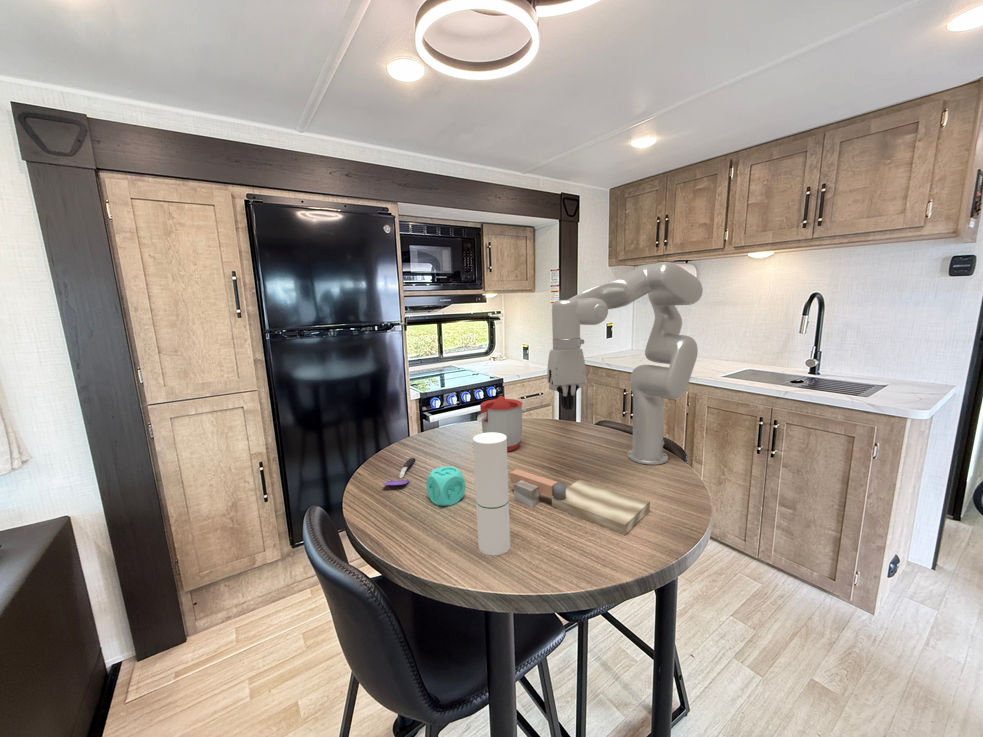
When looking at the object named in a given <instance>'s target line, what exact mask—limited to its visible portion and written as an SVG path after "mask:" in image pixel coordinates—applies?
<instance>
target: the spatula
mask: <svg viewBox="0 0 983 737" xmlns="http://www.w3.org/2000/svg"><path fill="white" fill-rule="evenodd" d="M415 459H416V458H415V457H410V458H408V459H407V461H405V463H404V464H403V465H402V469H401V470H400V473H399V476H398V478H399V477H400V478H402V477H404V478H405V473H406V471H407V469H409V468H410V467H411V466H413V464H414V463H415V462H416V460H415ZM406 480H407V481H391V480H388V481H386V482H385V483H382V486H400V485H401V486H402V485H406V484H408V483H409V482H410V480H409V481H408V479H406Z"/></svg>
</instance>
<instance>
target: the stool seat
mask: <svg viewBox="0 0 983 737" xmlns="http://www.w3.org/2000/svg"><path fill="white" fill-rule="evenodd" d="M513 489H514V491H513V492H514V500H515V501H516V502H520V503H521V504H525V505H527V506H529V507H534V506H536V505H537V504H538V503H539V502H540V500H539V499H540V496H539V494H540V493H539V487H538V486H535V485H533V484H530V483H527V482H524V481H519V482H517V483H515V484H514V483H513ZM650 503H651V501H649V500H648V499H647V500H646V499H645V498H644V499H643V498H640V497H637V496H634V495H631V494H628V493H625V492H621V491H618V490H614V489H612V488H608V487H605V486H602V485H599V484H596V483H592V482H589V481H586V480H584V479H579V480H577V481H574V483H573V484H571V485H569V486H567V487H566V498H564V499H556V498H554V496H552V497H551V508H554V509H557V510H559V511H561V512H562V511H563V512H565V513H567V514H570V515H572V516H575V517H577V518H580V519H582V520H585V521H588V522H591V523H593V524H595V525H598V526H600V527H602V528H605V529H608V530H611V531H613V532H616V533H619V534H621V535H624V536H626V535H627V534H628V533H629V532H630V531H631V530H632V528H634V527H635V526H636V524H638V523H639V521H641V520H642V519H643V517H644V516H646V515H647V514H648V512H650V509H651V508H650V505H651V504H650Z"/></svg>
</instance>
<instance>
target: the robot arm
mask: <svg viewBox="0 0 983 737" xmlns="http://www.w3.org/2000/svg"><path fill="white" fill-rule="evenodd" d="M645 295H647V296H648V301H649V302H650V304H651V307H652V309H653V313H654V322H653V324H652V328H651V330H650V334H649V336H648V340H647V342H646V346H645V350H644V356H645V358H646V359H647V360H648V361H650V362H653V363H657V364H665V365H669V366H661V365H655V364H654V365H653V364H641V365H638V366H636V367H635V368H634V369H633V370H632V371H631V372H630V373H631V374H630V380H629V382H630V387H631V394H632V405H633V406H632V409H633V410H632V449H629V450H628V451H627V458H628V459H629V458H630V459H629V460H631V461H633V462H635V463H639V464H643V465H653V466H654V465H663V464H665V463H667V462H668V460H669V456H668V454H667V453H665V452H664V445H665V441H664V430H665V429H664V425H665V423H664V422H665V407H664V406H665V405H664V402H663V400H662V398H665V399H669V400H676V399H677V400H678V399H680V398H682V396H683V395H684V394H685V392H686V390H687V388H688V386H689V382H690V380H691V376H692V373H693V370H694V367H695V365H696V361H697V359H698V344H697V342H696V340H695V339H694V338H693V337H691V336H689V335H683V334H681V331H682V326H683V319H682V316H681V313H680V312H679V310H678V309H677V306H691V305H694V304H695V303H697V302H699V300H701V297H702V296H703V285H702V283H701V281H700V279H699V278H698V277H697V276H695V275H694V274H692V273H691V272H689V271H687V270H686V269H684V268H683V267H681V266H679V265H678V264H676V263H673V262H670V261H664V262H663V261H662V262H656V263H648V264H647V263H646V264H643V265H640V266H638V267H636V268H633V269H632V270H630V271H628V272H626V273H625V274H623V275H621V276H619V277H617V278H615V279H613V280H611V281H610V280H609V281H608V282H605V283H602V284H600V285H597V286H595V287H592V288H589V289H586V290H584V291H581V292H580V293H577V294H576V295H574V296H572V297H570V298H568V299H560V300H555V301H553V303H552V306H551V318H552V319H551V322H552V323H551V325H552V328H551V330H552V349H550V350H549V354H548V360H547V372H546V378H547V379H546V380H547V383H549V385H548V389H549V390H551V391H555V392H556V391H557V392H558V394H559V395H560V406H561V407H562V409H564V410H566V411H568V410H573V406H574V396H575V395H576V392H577V391H578V390H579V389H581V388H584V387H585V386H586V382H585V381H586V375H587V374H586V362H585V356H584V351H583V348H581V347H582V345H584V344H585V340H584V339H581V326H582V325H583V326H596V325H599V324H601V323H603V322H604V321H605V320H606V318H607V317H608V314H609V310H612V309H619V308H622V307H626V306H628V305H630V304H632V303H633V302H635V301H637V300H638V299H640V298H642V297H645Z"/></svg>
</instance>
